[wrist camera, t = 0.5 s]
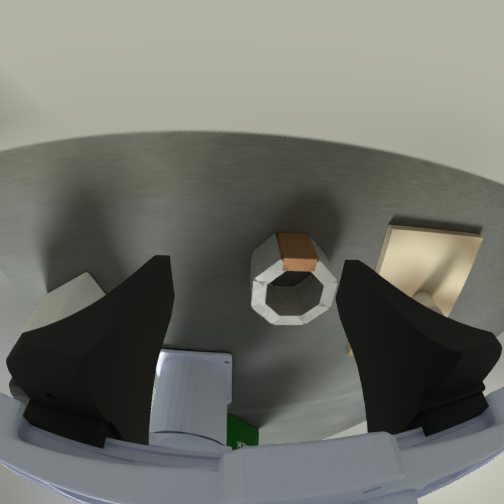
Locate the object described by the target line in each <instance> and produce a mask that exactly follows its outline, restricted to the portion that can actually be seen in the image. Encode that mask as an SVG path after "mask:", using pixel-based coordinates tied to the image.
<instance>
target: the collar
mask: <svg viewBox="0 0 504 504" xmlns="http://www.w3.org/2000/svg"><path fill="white" fill-rule="evenodd" d="M285 271H311V273H310V276H308V277H307V278H305V279H304V280H303V281H301V282H300V283H298V284H297V285H295V286H274V285H273V284H272V283H271V281H273V280H274V279H276V278H277V277H278V276H280V275H281V274H283V273H284V272H285ZM336 286H337V279H336V277H335V275H334V272H333V270H332V268H331V266H330V264H329V261H328V259H327V257H326V255H325V253H324V252H323V251H322V249H321V248H320V247H319V246H318V245H317V244H316V242H315V241H314V240H313V239H312V238H311V237H310V236H309V235H308V236H307V234H301V233H280V232H278V235H276V234H273V235H272V236H271V237H270V238H268V239H267V240H266V241H264V242H263V243H262V244H261V245H259V246H258V247H257V248H256V249H254V250H253V253H252V254H251V269H250V289H251V306H252V308H253V309H254V310H255V311H256V312H257V313H259V314H260V315H261V316H262V317H264V318H265V319H266V320H267V321H268V322H270V323H271V324H273V323H274V325H303V322H304V323H305V324H306V323H308V322H310V321H311V320H313V319H314V318H316V317H317V316H319V315H320V314H322V313H324V312H325V311H327V310H328V309H329V307H331V304H332V301H333V297H334V294H335V290H336Z"/></svg>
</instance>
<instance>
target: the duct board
mask: <svg viewBox="0 0 504 504" xmlns="http://www.w3.org/2000/svg"><path fill="white" fill-rule="evenodd" d="M482 240H483V237H481V236H480V235H479V234H474V233H466V232H458V231H449V230H440V229H430V228H421V227H410V226H400V225H389V224H388V228H387V231H386V235H385V238H384V242H383V246H382V249H381V252H380V256H379V259H378V262H377V266H376V269H375V272H376V273H378V274H379V275H380V276H382V277H383V278H384V279H386V280H387V281H388V282H390V283H391V284H392V285H394V286H395V287H397V288H398V289H399V290H401V291H402V292H404V293H405V294H407V295H408V296H410V297H411V298H413V299H414V300H416V301H417V302H419V303H421V304H423V305H424V306H426V307H428V308H430V309H431V310H433V311H435V312H437V313H439V314H441V315H444V316H446V317H448V315H449V313H450V312H451V310H452V308H453V306H454V304H455V302H456V300H457V298H458V296H459V294H460V292H461V290H462V287H463V285H464V283H465V281H466V279H467V277H468V274H469V272H470V270H471V267H472V265H473V263H474V260H475V258H476V255H477V253H478V250H479V248H480V245H481V242H482ZM346 351H347V354H348V355H354V354H353V352H352V349H351V346H350V344H349V343H348V346H347V348H346Z"/></svg>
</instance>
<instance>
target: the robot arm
mask: <svg viewBox="0 0 504 504" xmlns="http://www.w3.org/2000/svg"><path fill="white" fill-rule="evenodd" d="M174 297H175V295H174V288H173V280H172V272H171V263H170V256H164V255H155V256H154V257H152V258H151V259H150V260H149V261H148V262H146V263H145V264H144V265H143V266H142V267H141V268H139V269H138V270H137V271H136V272H135V273H133V274H132V275H131V276H130V277H129V278H127V279H126V280H125V281H124V282H122V283H121V284H120V285H118V286H117V287H116V288H115V289H113V290H112V291H111V292H109V293H108V294H106V295H105V296H103V297H102V298H100V299H99V300H97V301H96V302H94V303H92V304H91V305H89V306H87V307H85V308H83V309H82V310H80V311H78V312H76V313H74V314H72V315H70V316H68V317H66V318H64V319H61V320H59V321H56V322H54V323H51V324H49V325H46V326H43V327H40V328H37V329H34V330H31V331H27V332H24V333H22V334H21V336H20V337H19V339H18V340H17V342H16V344H15V345H14V347H13V349H12V350H11V352H10V354H9V356H8V357H7V360H6V364H7V367H8V370H9V372H10V374H11V375H12V377H13V378H14V380H15V381H16V382H17V384H18V385H19V386H20V388H21V389H22V390H23V391H24V393H25V394H26V395H27V396H28V398H29V399H30V400H29V402H28V405H27V406H26V405H25V404H24V403H22V402H21V401H19V400H17V399H14V398H12V397H9V396H7V395H5V394H3V393H0V463H1V464H2V465H4V466H5V467H7V468H8V469H9V470H11V471H12V472H14V473H15V474H17V475H19V476H21V477H23V478H24V479H26V480H29V481H30V482H33V483H34V484H36V485H39V486H40V487H43V488H45V489H47V490H49V491H51V492H53V493H56V494H58V495H60V496H63V497H65V498H67V499H70V500H72V501H75V502H77V503H80V504H418V502H417V498H420V497H422V496H425V495H427V494H429V493H431V492H434V491H436V490H438V489H440V488H442V487H444V486H446V485H448V484H450V483H452V482H454V481H456V480H458V479H460V478H462V477H464V476H465V475H467V474H469V473H471V472H473V471H474V470H476V469H478V468H480V467H481V466H483V465H485V464H486V463H488V462H489V461H491V460H493V459H494V458H495V457H497V456H498V455H499V454H501V453H502V452H503V451H504V387H502V388H500V389H498V390H496V391H494V392H492V393H490V394H489V395H487V396H486V397H484V395H483V393H482V391H484V390H485V385H484V384H483V382H482V381H483V380H484V379H485V378H486V376H487V375H488V374H489V372H490V371H491V370H492V369H493V367H494V366H495V364H496V363H497V361H498V360H499V358H500V356H501V352H502V346H501V344H500V342H499V341H498V340H497V338H496V337H495V335H494V334H493V333H492V332H488V331H485V330H481V329H478V328H474V327H471V326H468V325H465V324H462V323H460V322H457V321H455V320H452V319H450V318H448V317H446V316H444V315H441V314H439V313H437V312H435V311H433V310H431V309H430V308H428V307H426V306H424V305H423V304H421V303H419V302H417V301H416V300H414V299H413V298H411V297H410V296H408V295H407V294H405V293H404V292H402V291H401V290H399V289H398V288H397V287H395V286H394V285H392V284H391V283H390V282H388V281H387V280H386V279H384V278H383V277H382V276H380V275H379V274H378V273H376V272H375V271H374V270H372V269H371V268H370V267H368V266H367V265H365V264H364V263H362V262H361V261H359V260H345V263H344V267H343V271H342V275H341V279H340V283H339V287H338V291H337V295H336V298H335V299H336V303H337V308H338V312H339V316H340V320H341V322H342V325H343V328H344V330H345V333H346V336H347V338H348V341H349V344H350V346H351V349H352V352H353V354H354V357H355V360H356V363H357V367H358V371H359V376H360V380H361V385H362V390H363V396H364V402H365V410H366V418H367V429H368V433H365V434H360V435H354V436H348V437H342V438H335V439H327V440H319V441H310V442H299V443H286V444H266V445H258V446H248V447H242V448H239V449H236V450H232V447H230V446H226V440H227V404H230V403H231V397H232V355H231V354H229V353H211V352H194V351H180V350H168V349H161V348H162V345H163V342H164V338H165V335H166V332H167V328H168V325H169V322H170V319H171V314H172V309H173V303H174ZM156 371H157V374H158V378H159V379H158V383H157V388H156V393H155V398H154V403H153V408H152V413H151V402H152V394H153V386H154V379H155V373H156ZM150 413H151V418H150Z"/></svg>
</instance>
